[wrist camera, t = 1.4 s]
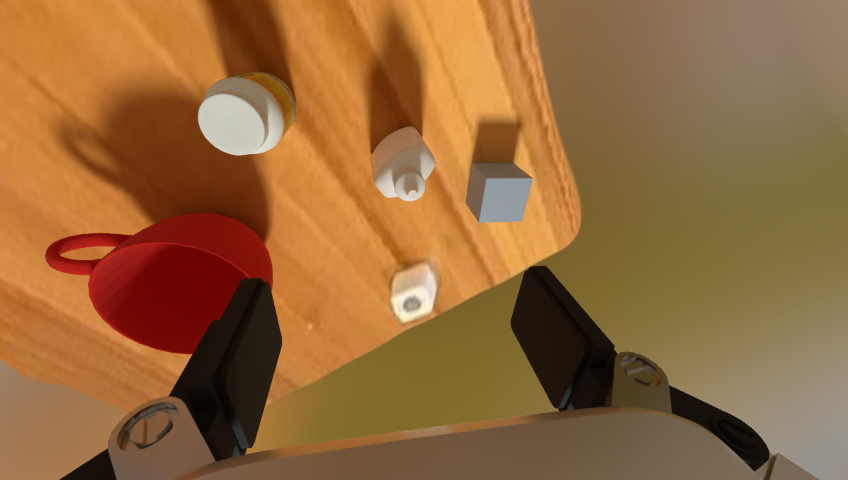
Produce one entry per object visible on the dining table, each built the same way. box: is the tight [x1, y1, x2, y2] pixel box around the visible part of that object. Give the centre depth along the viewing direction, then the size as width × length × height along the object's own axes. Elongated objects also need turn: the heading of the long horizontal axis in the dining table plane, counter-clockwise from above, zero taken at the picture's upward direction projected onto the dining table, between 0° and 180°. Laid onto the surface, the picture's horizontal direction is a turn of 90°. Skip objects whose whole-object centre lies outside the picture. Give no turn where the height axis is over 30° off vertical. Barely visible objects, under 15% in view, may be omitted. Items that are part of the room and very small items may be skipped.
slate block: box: [466, 163, 533, 223], centre depth 35 cm, size 5×5×5 cm
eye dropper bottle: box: [371, 126, 436, 201], centre depth 28 cm, size 4×6×12 cm
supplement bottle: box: [198, 72, 296, 155], centre depth 25 cm, size 5×5×10 cm
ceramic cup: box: [45, 213, 273, 354], centre depth 30 cm, size 13×17×10 cm
